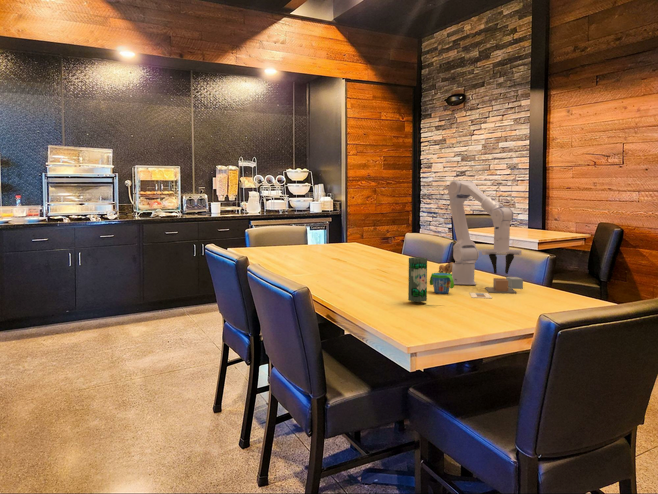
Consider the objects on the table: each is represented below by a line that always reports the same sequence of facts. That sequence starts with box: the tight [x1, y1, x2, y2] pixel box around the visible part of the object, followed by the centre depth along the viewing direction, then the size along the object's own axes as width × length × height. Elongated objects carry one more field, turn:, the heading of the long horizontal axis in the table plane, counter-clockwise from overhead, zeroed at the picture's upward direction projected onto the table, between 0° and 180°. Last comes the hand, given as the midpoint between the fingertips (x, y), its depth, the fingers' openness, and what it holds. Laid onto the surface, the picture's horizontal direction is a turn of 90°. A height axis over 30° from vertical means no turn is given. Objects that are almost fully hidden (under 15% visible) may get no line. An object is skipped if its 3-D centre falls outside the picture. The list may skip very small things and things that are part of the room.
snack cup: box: [429, 272, 455, 295], centre depth 190 cm, size 11×8×7 cm
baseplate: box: [485, 286, 517, 295], centre depth 194 cm, size 10×10×1 cm
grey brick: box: [505, 276, 524, 290], centre depth 203 cm, size 4×7×4 cm, turn 179°
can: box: [407, 256, 428, 303], centre depth 175 cm, size 6×6×15 cm
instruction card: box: [469, 292, 493, 299], centre depth 184 cm, size 7×10×1 cm
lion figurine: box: [438, 262, 454, 274], centre depth 236 cm, size 12×4×7 cm, turn 32°
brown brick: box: [492, 277, 509, 291], centre depth 194 cm, size 4×7×4 cm, turn 170°
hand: (500, 273), depth 194 cm, fingers open, 4 cm apart
